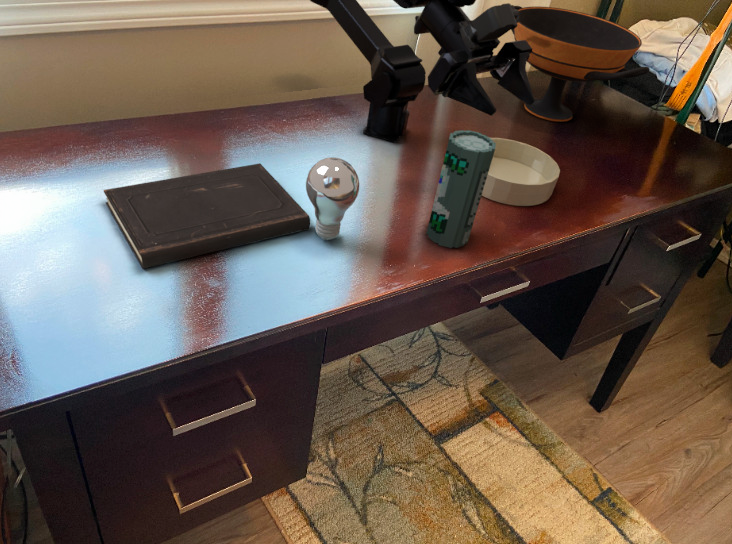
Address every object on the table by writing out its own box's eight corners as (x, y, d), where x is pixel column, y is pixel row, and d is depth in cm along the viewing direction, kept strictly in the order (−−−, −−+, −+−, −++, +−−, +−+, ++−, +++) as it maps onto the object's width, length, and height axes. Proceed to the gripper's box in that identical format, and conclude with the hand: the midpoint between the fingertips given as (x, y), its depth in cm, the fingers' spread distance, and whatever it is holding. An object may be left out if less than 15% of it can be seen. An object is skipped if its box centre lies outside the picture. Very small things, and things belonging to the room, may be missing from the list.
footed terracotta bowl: (452, 83, 137) (471, -1, 125) (533, 75, 149) (558, -3, 137) (566, 158, 115) (602, 64, 104) (650, 141, 127) (691, 56, 116)
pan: (450, 187, 100) (455, 166, 98) (470, 149, 112) (476, 129, 109) (545, 216, 97) (554, 194, 95) (556, 174, 109) (564, 154, 107)
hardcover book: (105, 204, 83) (103, 189, 82) (260, 176, 94) (260, 162, 93) (143, 271, 74) (141, 256, 72) (309, 231, 85) (311, 217, 84)
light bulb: (332, 260, 81) (342, 180, 73) (291, 239, 83) (296, 159, 75) (361, 237, 86) (373, 161, 78) (320, 218, 88) (328, 142, 80)
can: (429, 220, 92) (451, 126, 82) (469, 229, 91) (496, 136, 82) (424, 241, 87) (447, 145, 77) (466, 251, 87) (494, 156, 77)
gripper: (437, -11, 81) (505, 75, 78) (521, -18, 92) (585, 57, 89) (401, 54, 90) (461, 134, 87) (482, 41, 101) (538, 112, 98)
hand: (513, 108), depth 90 cm, fingers open, 9 cm apart
